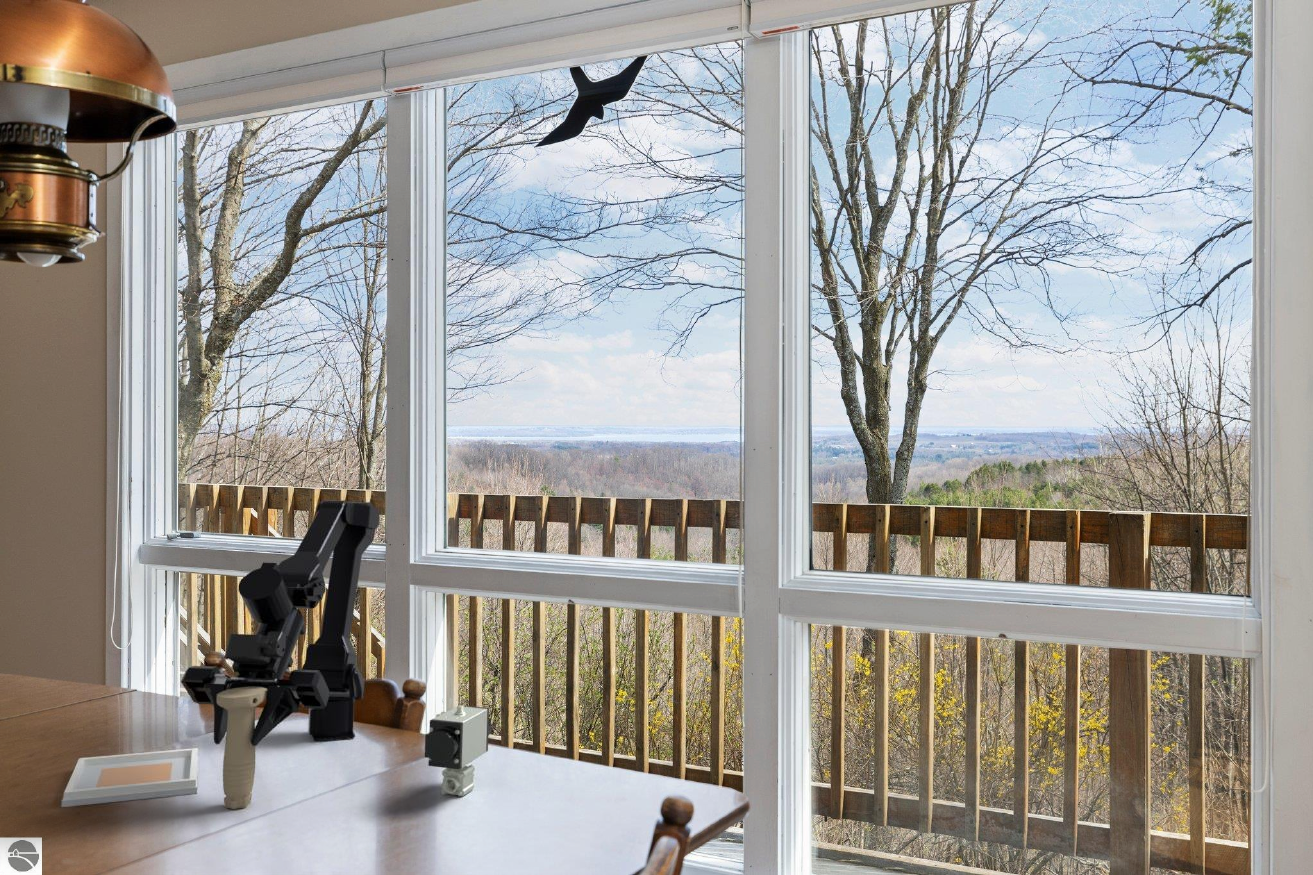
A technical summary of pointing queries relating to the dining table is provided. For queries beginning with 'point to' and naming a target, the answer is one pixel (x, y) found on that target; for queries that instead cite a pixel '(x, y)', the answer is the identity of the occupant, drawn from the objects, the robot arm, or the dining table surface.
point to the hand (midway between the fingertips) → (234, 743)
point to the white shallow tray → (132, 777)
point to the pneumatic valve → (458, 745)
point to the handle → (239, 743)
